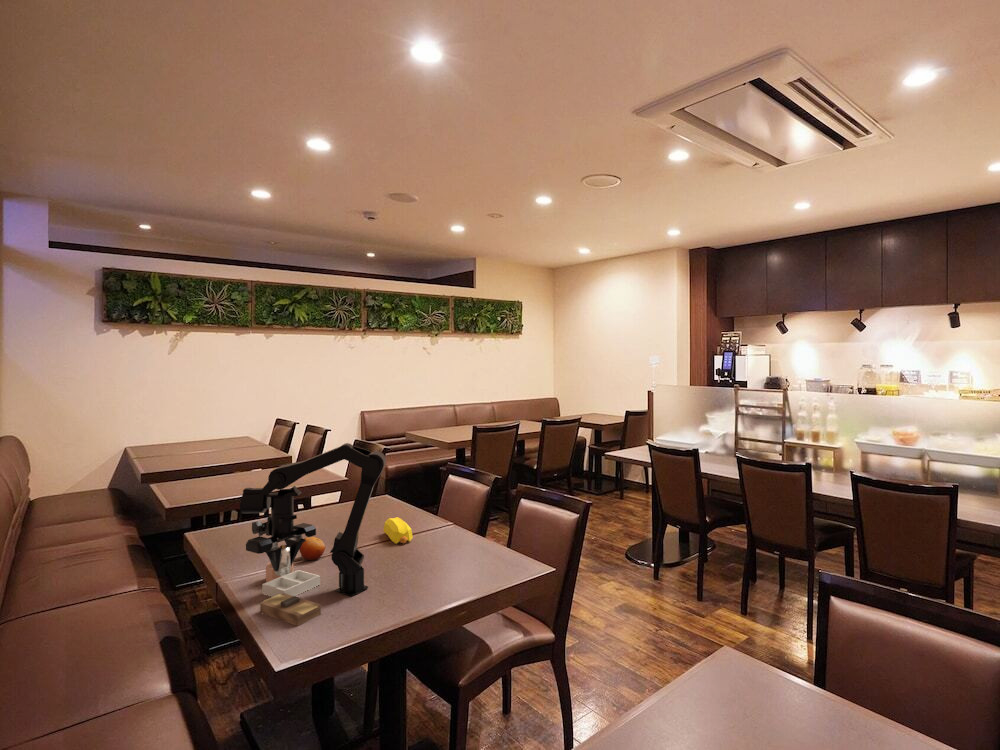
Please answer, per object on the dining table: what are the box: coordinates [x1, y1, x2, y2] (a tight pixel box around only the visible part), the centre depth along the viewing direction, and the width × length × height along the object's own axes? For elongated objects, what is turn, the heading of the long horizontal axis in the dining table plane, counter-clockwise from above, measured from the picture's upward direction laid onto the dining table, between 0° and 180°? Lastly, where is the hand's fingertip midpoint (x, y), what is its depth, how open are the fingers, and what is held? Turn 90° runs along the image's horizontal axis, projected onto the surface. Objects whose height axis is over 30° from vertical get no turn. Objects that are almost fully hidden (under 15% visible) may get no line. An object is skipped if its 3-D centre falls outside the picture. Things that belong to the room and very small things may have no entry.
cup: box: [265, 562, 295, 583], centre depth 156 cm, size 7×7×5 cm
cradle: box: [259, 593, 322, 627], centre depth 134 cm, size 15×7×4 cm, turn 60°
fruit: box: [299, 536, 326, 562], centre depth 174 cm, size 8×8×8 cm
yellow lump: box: [382, 516, 414, 545], centre depth 195 cm, size 18×7×8 cm
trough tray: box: [262, 569, 321, 598], centre depth 149 cm, size 9×12×3 cm
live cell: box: [275, 544, 291, 576], centre depth 146 cm, size 4×4×8 cm
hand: (282, 568), depth 146 cm, fingers closed on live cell, 4 cm apart
